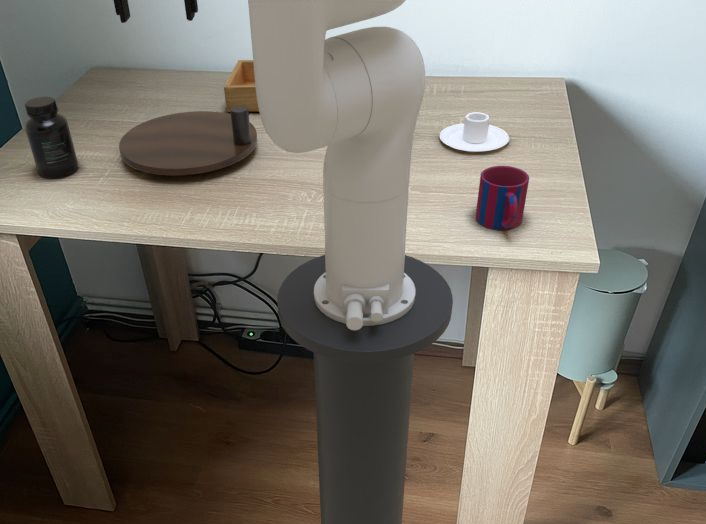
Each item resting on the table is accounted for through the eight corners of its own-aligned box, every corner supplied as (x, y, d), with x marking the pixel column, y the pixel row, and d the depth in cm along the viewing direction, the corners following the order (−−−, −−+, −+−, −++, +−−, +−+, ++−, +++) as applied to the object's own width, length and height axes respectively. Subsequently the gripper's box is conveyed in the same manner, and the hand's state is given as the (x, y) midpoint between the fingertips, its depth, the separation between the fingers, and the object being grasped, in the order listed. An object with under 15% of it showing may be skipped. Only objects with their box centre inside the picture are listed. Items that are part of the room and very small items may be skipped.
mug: (518, 207, 109) (525, 165, 105) (527, 242, 102) (535, 199, 97) (473, 207, 110) (478, 165, 106) (479, 242, 102) (484, 198, 98)
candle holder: (461, 160, 122) (464, 136, 119) (427, 134, 131) (428, 110, 128) (522, 147, 125) (526, 122, 122) (484, 122, 134) (487, 99, 131)
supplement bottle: (39, 164, 127) (18, 97, 120) (78, 159, 129) (61, 91, 121) (37, 181, 122) (16, 112, 115) (79, 175, 123) (61, 106, 116)
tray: (226, 113, 142) (223, 84, 138) (240, 85, 153) (238, 57, 150) (384, 114, 138) (385, 84, 135) (386, 85, 150) (387, 57, 146)
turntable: (249, 174, 118) (245, 133, 113) (104, 176, 119) (95, 136, 115) (263, 116, 136) (260, 78, 132) (137, 118, 138) (130, 81, 133)
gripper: (62, -113, 92) (93, 28, 103) (197, -118, 92) (213, 25, 102) (79, -121, 98) (106, 13, 109) (205, -127, 97) (220, 10, 108)
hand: (158, 19), depth 106 cm, fingers open, 9 cm apart
